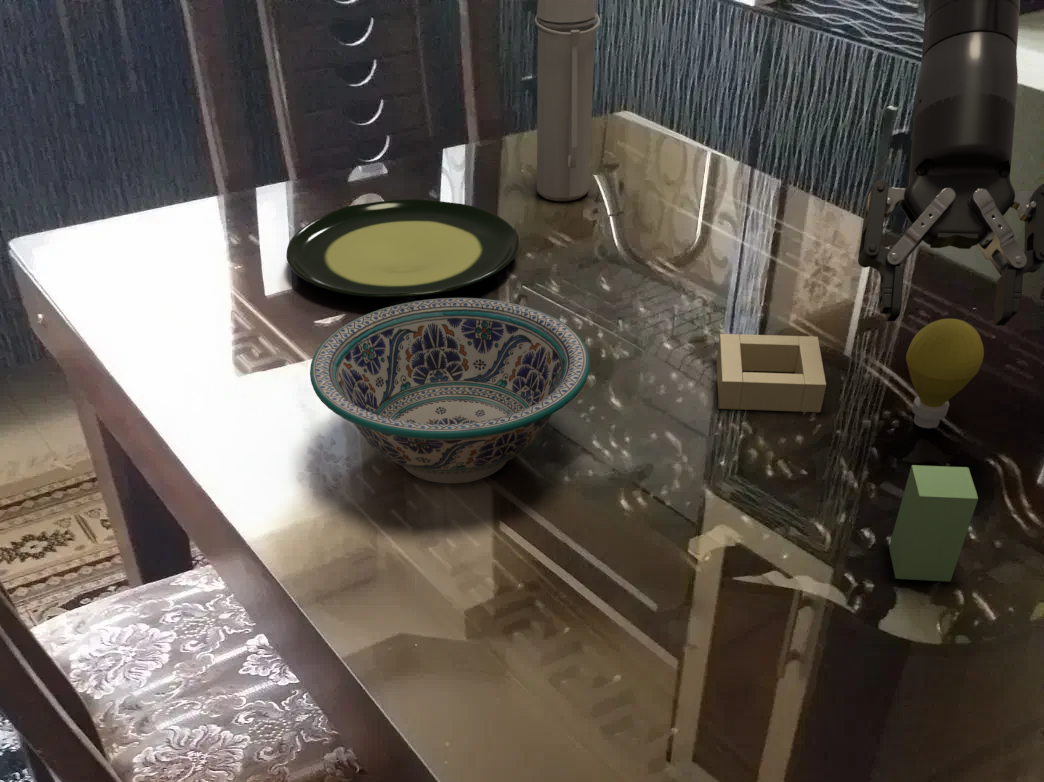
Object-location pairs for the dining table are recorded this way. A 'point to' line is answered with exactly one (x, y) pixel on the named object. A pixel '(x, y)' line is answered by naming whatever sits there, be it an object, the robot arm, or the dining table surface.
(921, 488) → the post
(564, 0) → the water bottle
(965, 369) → the light bulb
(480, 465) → the bowl
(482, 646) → the dining table surface
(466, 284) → the plate
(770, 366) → the socket pad
